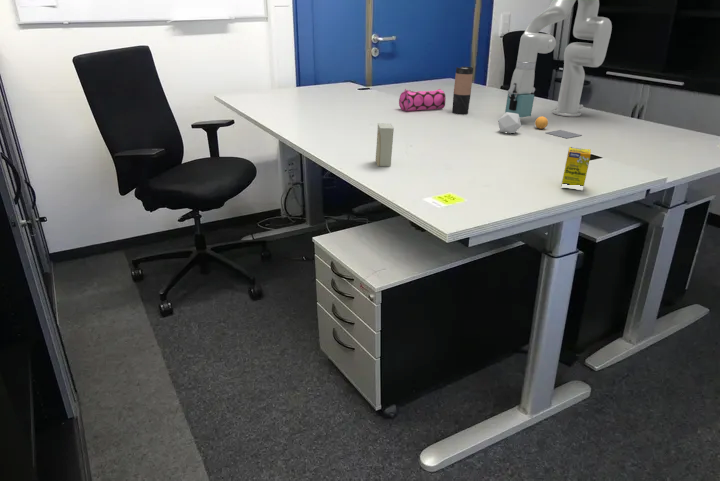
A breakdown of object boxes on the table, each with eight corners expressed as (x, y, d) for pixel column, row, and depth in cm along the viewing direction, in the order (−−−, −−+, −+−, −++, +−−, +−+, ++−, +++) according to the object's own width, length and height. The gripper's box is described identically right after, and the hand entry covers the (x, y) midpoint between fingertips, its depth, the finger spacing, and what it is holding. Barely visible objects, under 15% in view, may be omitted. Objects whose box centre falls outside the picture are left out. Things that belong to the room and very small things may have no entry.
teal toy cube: (516, 112, 236) (519, 92, 233) (530, 116, 231) (534, 94, 227) (504, 114, 232) (508, 93, 229) (519, 117, 227) (522, 96, 223)
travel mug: (468, 115, 245) (473, 69, 236) (451, 113, 246) (455, 68, 238) (468, 111, 252) (473, 66, 243) (452, 110, 253) (456, 66, 245)
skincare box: (375, 160, 174) (377, 123, 169) (389, 160, 175) (391, 123, 170) (377, 166, 169) (379, 127, 164) (391, 166, 169) (393, 127, 164)
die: (523, 134, 217) (516, 112, 218) (523, 128, 209) (516, 105, 210) (502, 140, 219) (496, 118, 220) (502, 134, 210) (495, 111, 212)
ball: (539, 126, 228) (541, 114, 226) (549, 129, 224) (551, 117, 222) (531, 128, 225) (533, 116, 223) (541, 130, 221) (543, 118, 219)
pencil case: (408, 113, 244) (409, 91, 240) (397, 109, 252) (398, 87, 248) (447, 110, 253) (449, 88, 249) (435, 106, 261) (437, 85, 257)
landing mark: (560, 130, 223) (560, 129, 223) (581, 135, 216) (581, 135, 216) (545, 133, 217) (545, 132, 217) (566, 138, 210) (566, 138, 210)
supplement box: (560, 188, 155) (568, 151, 150) (561, 182, 160) (568, 146, 156) (583, 191, 153) (591, 154, 149) (583, 185, 158) (591, 148, 154)
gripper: (531, 64, 231) (524, 106, 238) (504, 65, 221) (498, 109, 228) (546, 66, 225) (538, 109, 233) (519, 67, 216) (512, 112, 223)
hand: (518, 109), depth 230 cm, fingers closed on teal toy cube, 7 cm apart
